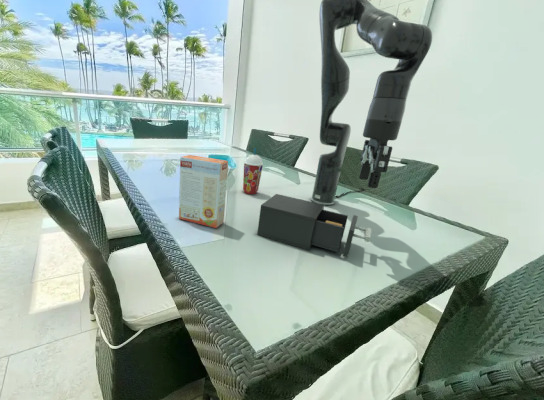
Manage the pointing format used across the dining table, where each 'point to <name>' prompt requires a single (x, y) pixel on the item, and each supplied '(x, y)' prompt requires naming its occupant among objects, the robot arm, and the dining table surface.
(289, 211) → the cabinet
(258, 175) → the smoothie
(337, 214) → the drawer
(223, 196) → the cracker box
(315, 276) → the dining table surface
